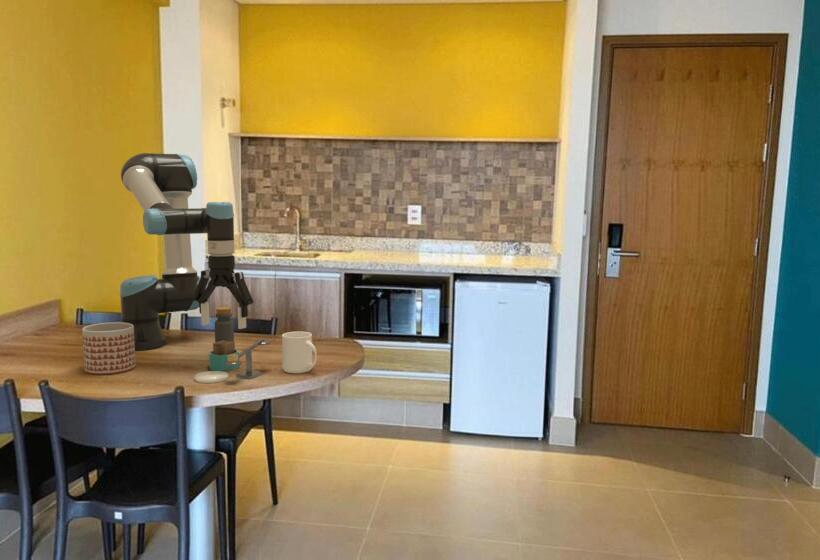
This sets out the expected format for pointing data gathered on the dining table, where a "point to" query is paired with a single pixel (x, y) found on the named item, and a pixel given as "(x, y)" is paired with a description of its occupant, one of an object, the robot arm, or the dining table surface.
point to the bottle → (224, 325)
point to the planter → (108, 348)
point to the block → (223, 348)
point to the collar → (220, 362)
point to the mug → (297, 352)
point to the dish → (211, 377)
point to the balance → (234, 360)
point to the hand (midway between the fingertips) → (223, 326)
